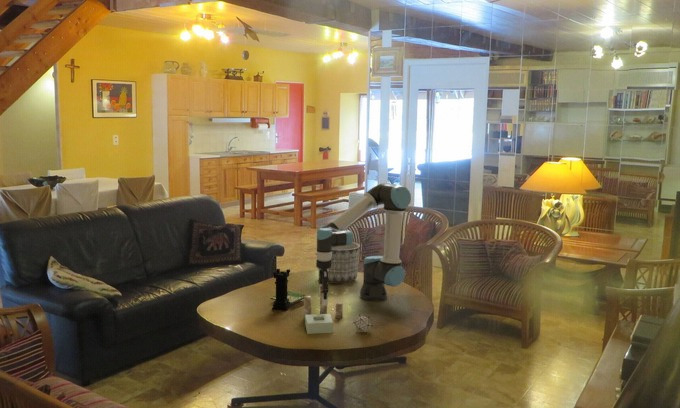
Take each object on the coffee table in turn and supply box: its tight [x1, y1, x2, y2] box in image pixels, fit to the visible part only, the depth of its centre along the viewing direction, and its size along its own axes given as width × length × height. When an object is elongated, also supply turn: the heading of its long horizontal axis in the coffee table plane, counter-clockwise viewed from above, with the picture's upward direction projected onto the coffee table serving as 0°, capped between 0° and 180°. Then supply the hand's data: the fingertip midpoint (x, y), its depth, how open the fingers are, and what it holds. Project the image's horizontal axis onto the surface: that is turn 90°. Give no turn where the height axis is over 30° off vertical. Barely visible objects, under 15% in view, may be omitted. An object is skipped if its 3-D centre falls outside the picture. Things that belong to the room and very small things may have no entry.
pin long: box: [319, 286, 328, 314], centre depth 295 cm, size 4×4×16 cm
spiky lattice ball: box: [352, 313, 374, 335], centre depth 277 cm, size 9×8×10 cm
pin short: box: [335, 301, 344, 319], centre depth 297 cm, size 4×4×7 cm
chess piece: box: [271, 268, 292, 312], centre depth 309 cm, size 8×8×20 cm
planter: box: [317, 241, 361, 284], centre depth 361 cm, size 26×26×22 cm
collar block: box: [304, 313, 334, 335], centre depth 281 cm, size 12×12×5 cm
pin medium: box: [303, 295, 312, 320], centre depth 295 cm, size 4×4×11 cm
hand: (322, 301), depth 295 cm, fingers open, 13 cm apart
